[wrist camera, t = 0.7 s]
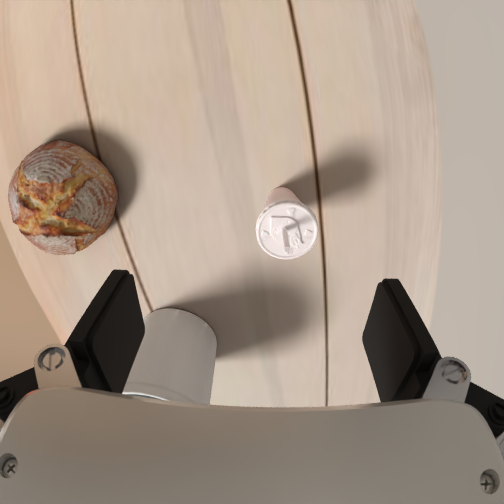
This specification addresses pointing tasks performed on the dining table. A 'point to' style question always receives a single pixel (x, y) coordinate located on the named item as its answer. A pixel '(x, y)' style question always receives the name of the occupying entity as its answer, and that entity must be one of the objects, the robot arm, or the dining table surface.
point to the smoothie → (286, 225)
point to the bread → (62, 198)
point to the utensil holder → (174, 358)
